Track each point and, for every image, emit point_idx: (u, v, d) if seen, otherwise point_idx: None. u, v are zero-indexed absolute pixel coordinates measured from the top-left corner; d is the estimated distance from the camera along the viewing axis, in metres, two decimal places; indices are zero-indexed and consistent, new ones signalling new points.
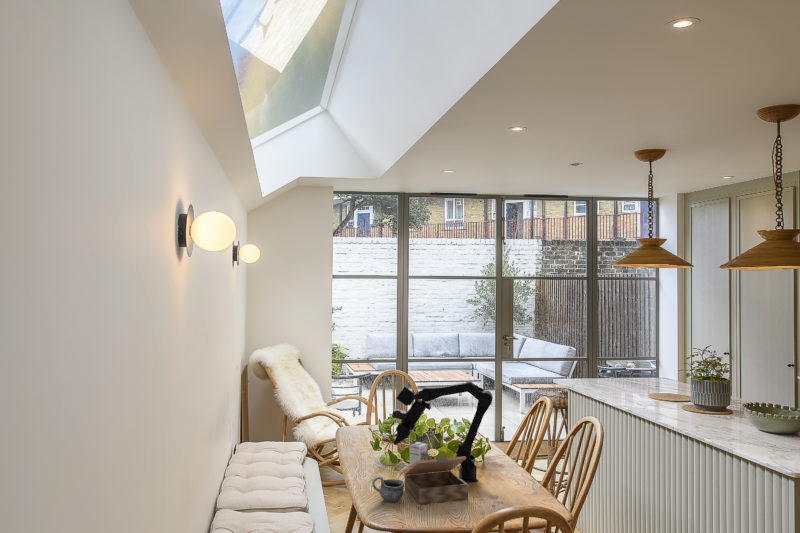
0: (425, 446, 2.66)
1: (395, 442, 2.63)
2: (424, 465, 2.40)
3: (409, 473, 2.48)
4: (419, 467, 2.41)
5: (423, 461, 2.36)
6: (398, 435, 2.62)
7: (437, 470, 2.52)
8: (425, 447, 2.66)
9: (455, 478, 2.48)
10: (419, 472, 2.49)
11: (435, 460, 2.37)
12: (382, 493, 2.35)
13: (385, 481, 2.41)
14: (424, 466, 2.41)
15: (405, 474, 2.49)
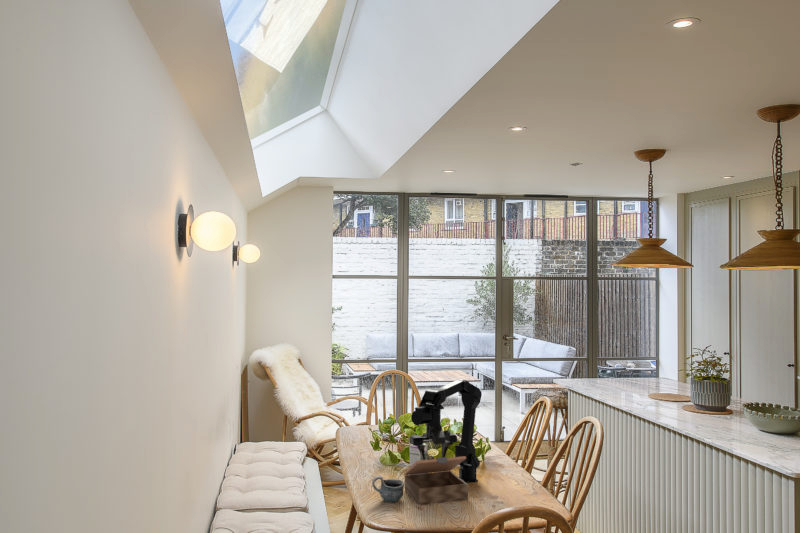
0: (425, 446, 2.66)
1: None
2: (424, 465, 2.40)
3: (409, 473, 2.48)
4: (419, 467, 2.41)
5: (423, 461, 2.36)
6: None
7: (437, 470, 2.52)
8: (425, 447, 2.66)
9: (455, 478, 2.48)
10: (419, 472, 2.49)
11: (435, 460, 2.37)
12: (382, 493, 2.35)
13: (385, 481, 2.41)
14: (424, 466, 2.41)
15: (405, 474, 2.49)
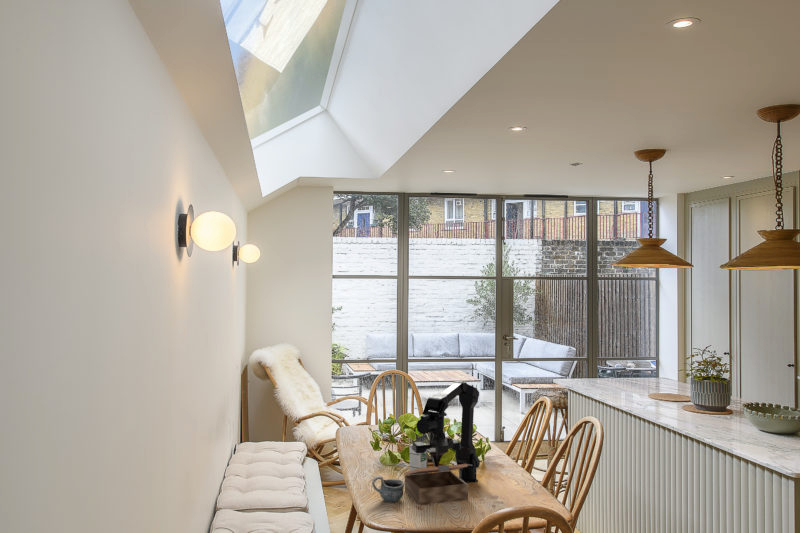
0: None
1: None
2: (425, 471, 2.39)
3: (409, 474, 2.48)
4: (420, 472, 2.41)
5: (424, 469, 2.34)
6: None
7: (437, 471, 2.51)
8: None
9: (455, 478, 2.48)
10: (419, 473, 2.49)
11: (436, 468, 2.36)
12: (382, 493, 2.35)
13: (385, 481, 2.41)
14: (425, 471, 2.40)
15: (405, 474, 2.48)
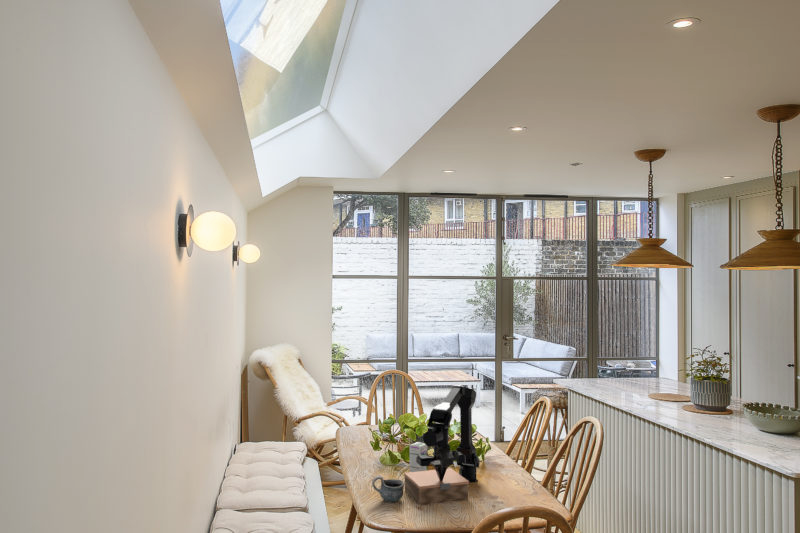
0: (425, 446, 2.66)
1: None
2: None
3: None
4: None
5: (426, 487, 2.33)
6: None
7: None
8: (425, 447, 2.66)
9: None
10: None
11: (438, 486, 2.34)
12: (382, 493, 2.35)
13: (385, 481, 2.41)
14: None
15: None
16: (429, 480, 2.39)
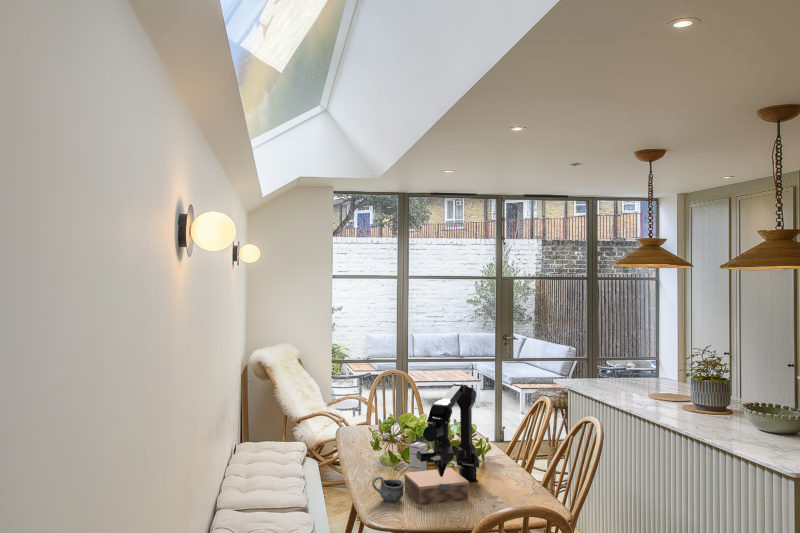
0: (425, 446, 2.66)
1: None
2: None
3: None
4: None
5: (426, 487, 2.33)
6: None
7: None
8: (425, 447, 2.66)
9: None
10: None
11: (438, 486, 2.34)
12: (382, 493, 2.35)
13: (385, 481, 2.41)
14: None
15: None
16: (429, 481, 2.39)
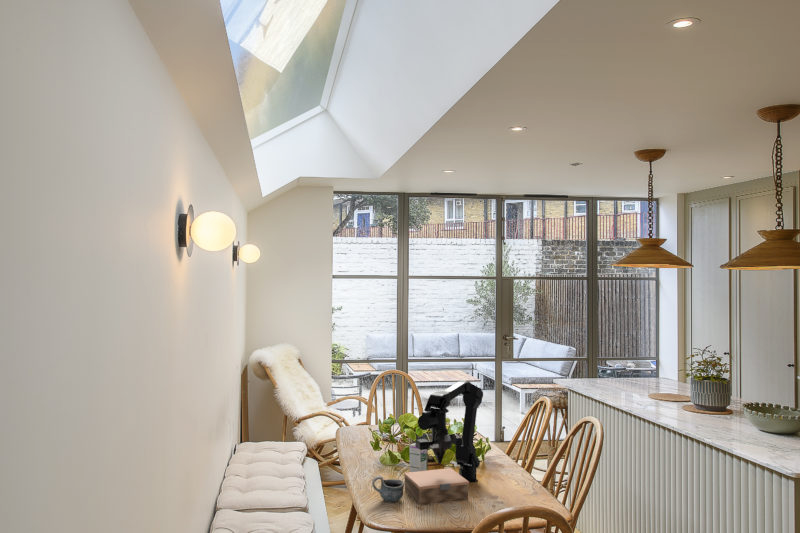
0: None
1: None
2: None
3: None
4: None
5: (426, 487, 2.33)
6: None
7: None
8: None
9: None
10: None
11: (438, 486, 2.34)
12: (382, 493, 2.35)
13: (385, 481, 2.41)
14: None
15: None
16: (429, 481, 2.39)
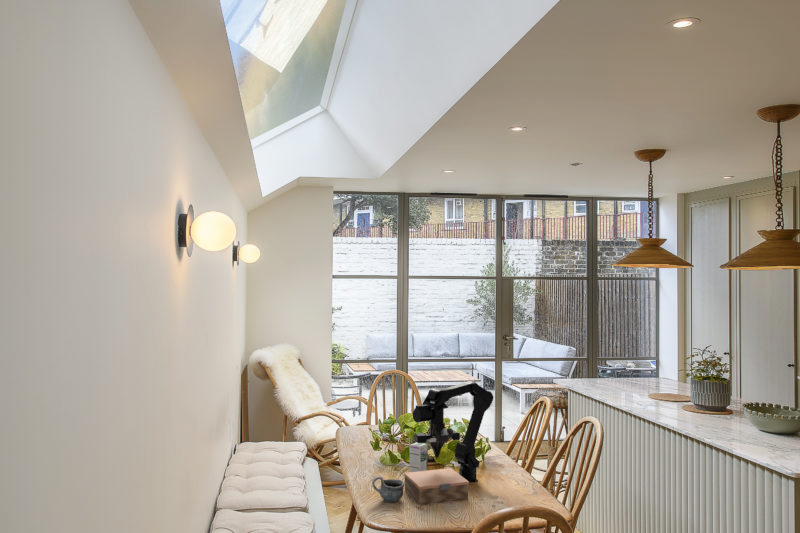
0: (425, 446, 2.66)
1: None
2: None
3: None
4: None
5: (426, 487, 2.33)
6: None
7: None
8: (425, 447, 2.66)
9: None
10: None
11: (438, 486, 2.34)
12: (382, 493, 2.35)
13: (385, 481, 2.41)
14: None
15: None
16: (429, 481, 2.39)
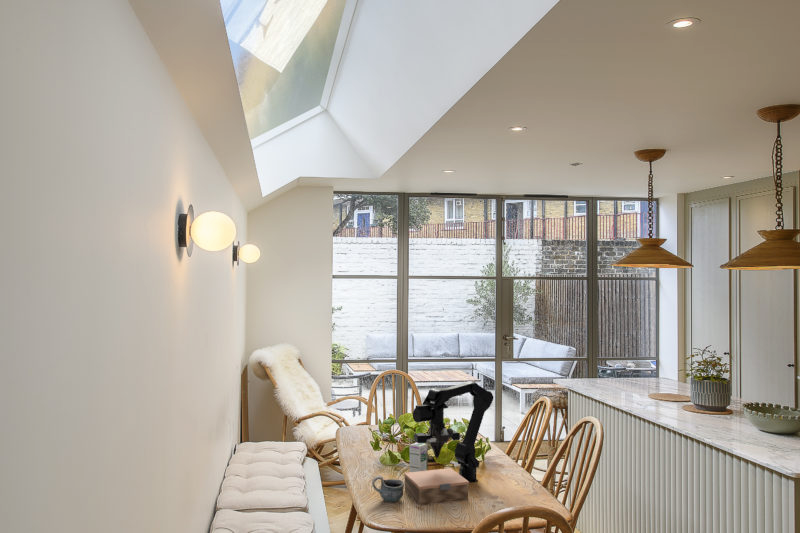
0: (425, 446, 2.66)
1: None
2: None
3: None
4: None
5: (426, 487, 2.33)
6: None
7: None
8: (425, 447, 2.66)
9: None
10: None
11: (438, 486, 2.34)
12: (382, 493, 2.35)
13: (385, 481, 2.41)
14: None
15: None
16: (429, 481, 2.39)
